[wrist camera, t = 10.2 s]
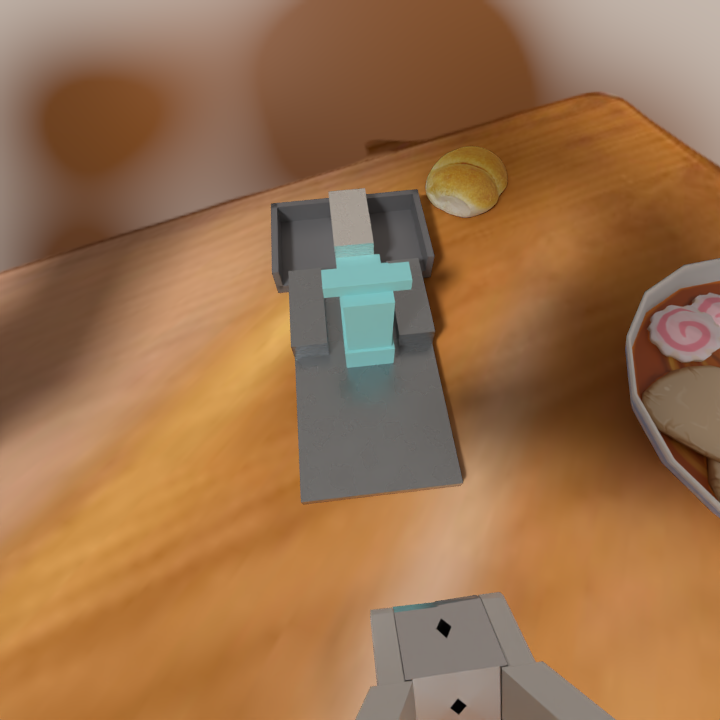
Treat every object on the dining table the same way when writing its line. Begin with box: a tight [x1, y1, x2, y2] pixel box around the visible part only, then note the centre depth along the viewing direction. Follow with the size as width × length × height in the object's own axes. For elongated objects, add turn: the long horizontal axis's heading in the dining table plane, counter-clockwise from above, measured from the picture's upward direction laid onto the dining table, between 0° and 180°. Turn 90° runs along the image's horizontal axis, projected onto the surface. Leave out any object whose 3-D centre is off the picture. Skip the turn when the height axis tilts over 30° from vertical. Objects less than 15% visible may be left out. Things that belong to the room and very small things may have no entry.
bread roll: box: [425, 146, 508, 218], centre depth 45 cm, size 8×9×4 cm
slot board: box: [288, 258, 463, 504], centre depth 34 cm, size 12×20×3 cm, turn 6°
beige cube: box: [331, 214, 374, 267], centre depth 39 cm, size 4×4×4 cm
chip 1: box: [329, 188, 369, 222], centre depth 40 cm, size 4×4×4 cm
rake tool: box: [321, 254, 412, 368], centre depth 33 cm, size 6×10×10 cm, turn 6°
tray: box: [271, 189, 434, 293], centre depth 41 cm, size 15×9×3 cm, turn 96°
